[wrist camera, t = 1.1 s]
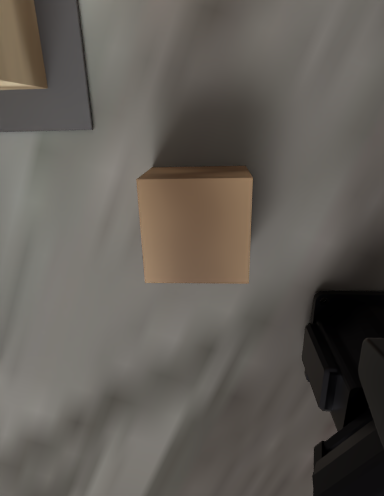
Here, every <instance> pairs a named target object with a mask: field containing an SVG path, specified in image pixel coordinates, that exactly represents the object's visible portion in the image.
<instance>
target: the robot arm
mask: <svg viewBox="0 0 384 496" xmlns="http://www.w3.org/2000/svg"><path fill="white" fill-rule="evenodd" d="M322 298H327V299H326V301H324V302H320V300H321V299H322ZM302 361H303V364H304V367H305V376H306V379H307V380H308V381H309V382H310V384H311V387H312V390H313V392H314V395H315V398H316V401H317V404H318V407H319V408H320V409H321V410H322V411H330V413H331V415H332V418H333V420H334V423H335V426H336V428H337V431H338V432H337V433H336V434H334V435H333V436H332V437H330V438H329V439H328V440H327V441H321V442H320V443H319V444H317V445H316V446H315V447H314V472H313V475H312V477H313V496H384V292H375V291H320V292H318V293H316V294H315V296H314V299H313V307H312V316H311V323H309V324H308V325H307V326H306V327H305V334H304V343H303V352H302Z"/></svg>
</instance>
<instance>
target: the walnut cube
mask: <svg viewBox="0 0 384 496" xmlns="http://www.w3.org/2000/svg"><path fill="white" fill-rule="evenodd" d="M136 180H137V192H138V204H139V216H140V228H141V240H142V252H143V264H144V276H145V283H240V284H249V263H250V237H251V211H252V185H253V177H252V176H251V174H250V172H249V171H248V169H247V167H246V166H203V167H152V168H151V169H149V170H148V171H147V172H146V173H144V174H143V175H142V176H140V177H139V178H138V179H136Z"/></svg>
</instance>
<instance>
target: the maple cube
mask: <svg viewBox="0 0 384 496" xmlns="http://www.w3.org/2000/svg"><path fill="white" fill-rule="evenodd" d="M46 88H48V86H47V80H46V74H45V67H44V61H43V55H42V49H41V42H40V36H39V30H38V24H37V17H36V11H35V5H34V0H0V90H16V89H46Z"/></svg>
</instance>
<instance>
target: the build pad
mask: <svg viewBox="0 0 384 496" xmlns="http://www.w3.org/2000/svg"><path fill="white" fill-rule="evenodd" d="M34 5H35V11H36V17H37V24H38V30H39V36H40V42H41V49H42V55H43V61H44V67H45V74H46V80H47V86H48V88H46V89H16V90H0V132H14V131H57V130H93V124H92V116H91V108H90V99H89V91H88V83H87V75H86V66H85V58H84V50H83V41H82V33H81V25H80V17H79V8H78V0H34Z"/></svg>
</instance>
